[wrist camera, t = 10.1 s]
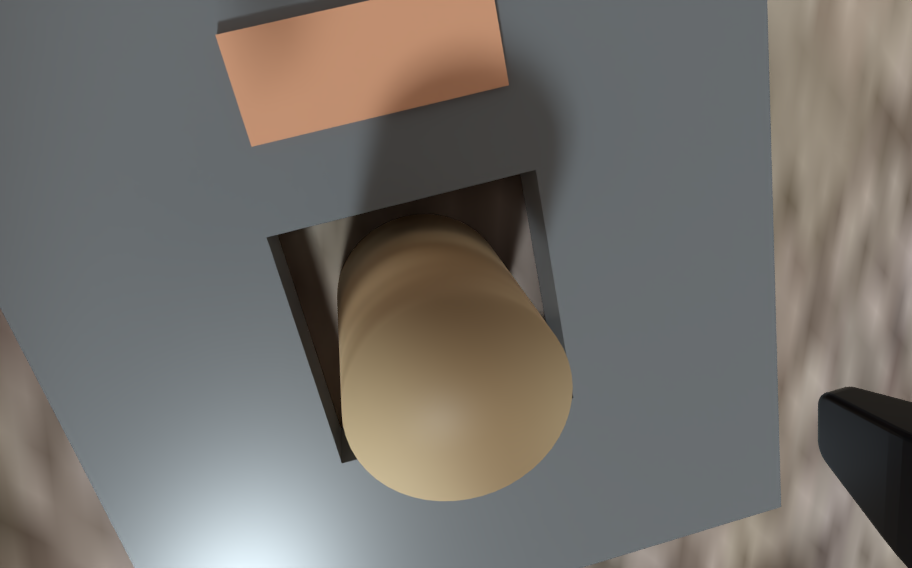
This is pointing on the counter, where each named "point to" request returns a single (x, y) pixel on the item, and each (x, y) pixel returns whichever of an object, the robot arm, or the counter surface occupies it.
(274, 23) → the hole plate
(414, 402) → the peg
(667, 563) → the counter surface
